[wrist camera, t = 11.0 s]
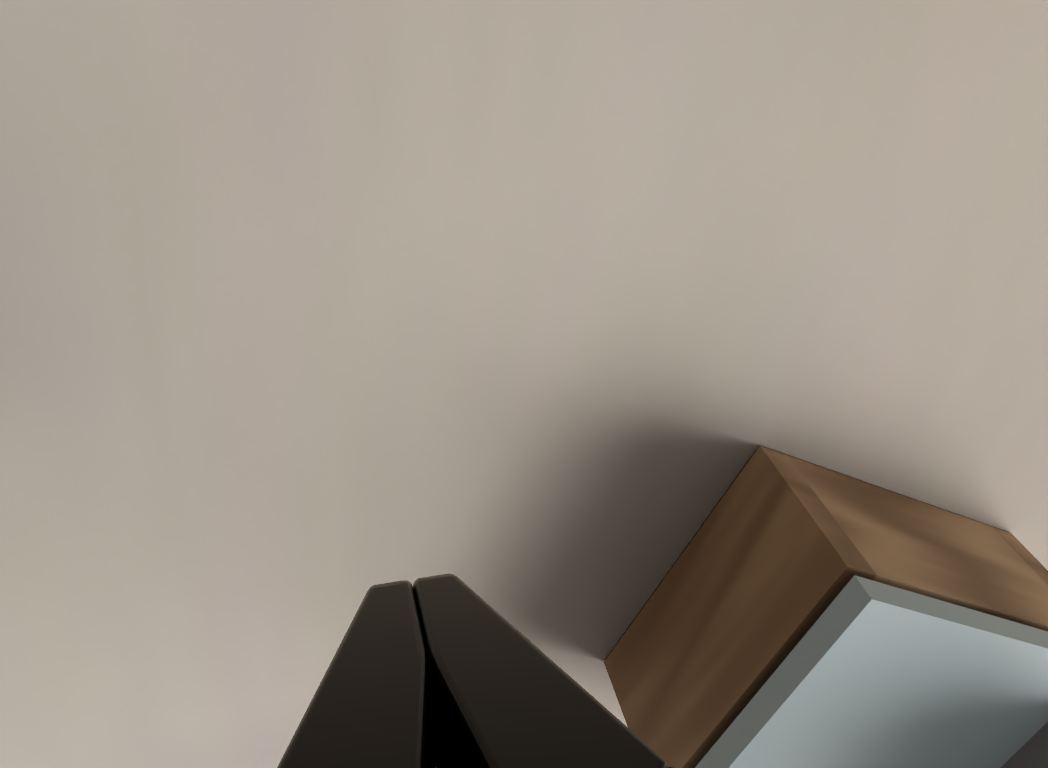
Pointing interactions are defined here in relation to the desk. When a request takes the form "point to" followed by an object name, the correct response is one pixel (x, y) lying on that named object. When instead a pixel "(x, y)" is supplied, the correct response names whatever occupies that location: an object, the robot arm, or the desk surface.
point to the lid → (898, 691)
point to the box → (794, 591)
